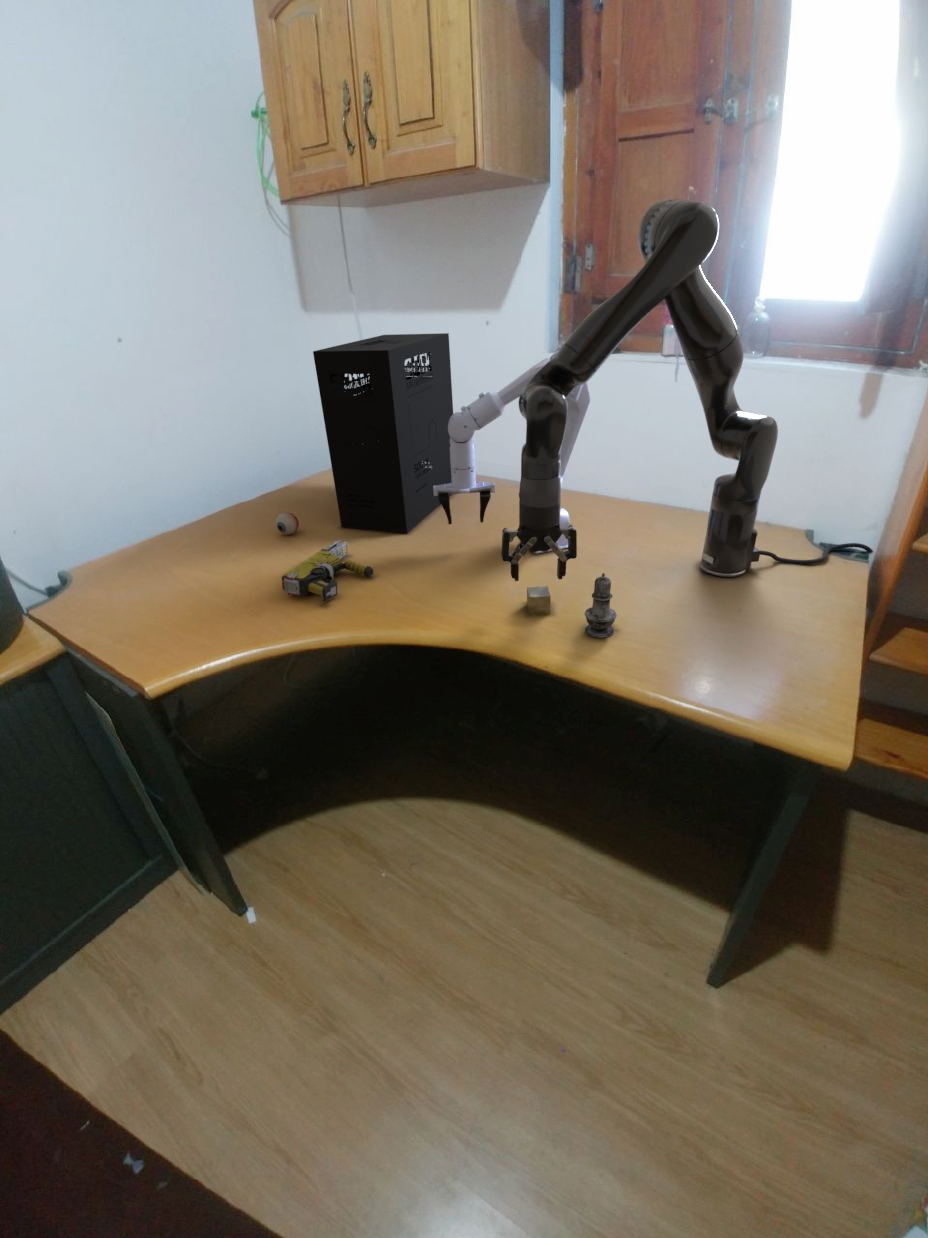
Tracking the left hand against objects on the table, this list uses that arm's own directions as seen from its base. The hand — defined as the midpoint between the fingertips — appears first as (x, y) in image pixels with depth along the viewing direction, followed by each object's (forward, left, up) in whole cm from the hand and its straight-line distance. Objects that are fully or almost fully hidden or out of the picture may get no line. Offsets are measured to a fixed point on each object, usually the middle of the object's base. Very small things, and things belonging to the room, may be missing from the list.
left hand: (465, 521), depth 147 cm
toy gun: (+33, +3, -7) cm, 34 cm away
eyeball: (+41, -31, -7) cm, 52 cm away
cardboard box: (+7, -38, -7) cm, 39 cm away
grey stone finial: (-10, +47, -7) cm, 49 cm away
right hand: (-3, +35, 0) cm, 35 cm away
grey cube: (-3, +35, -7) cm, 36 cm away
